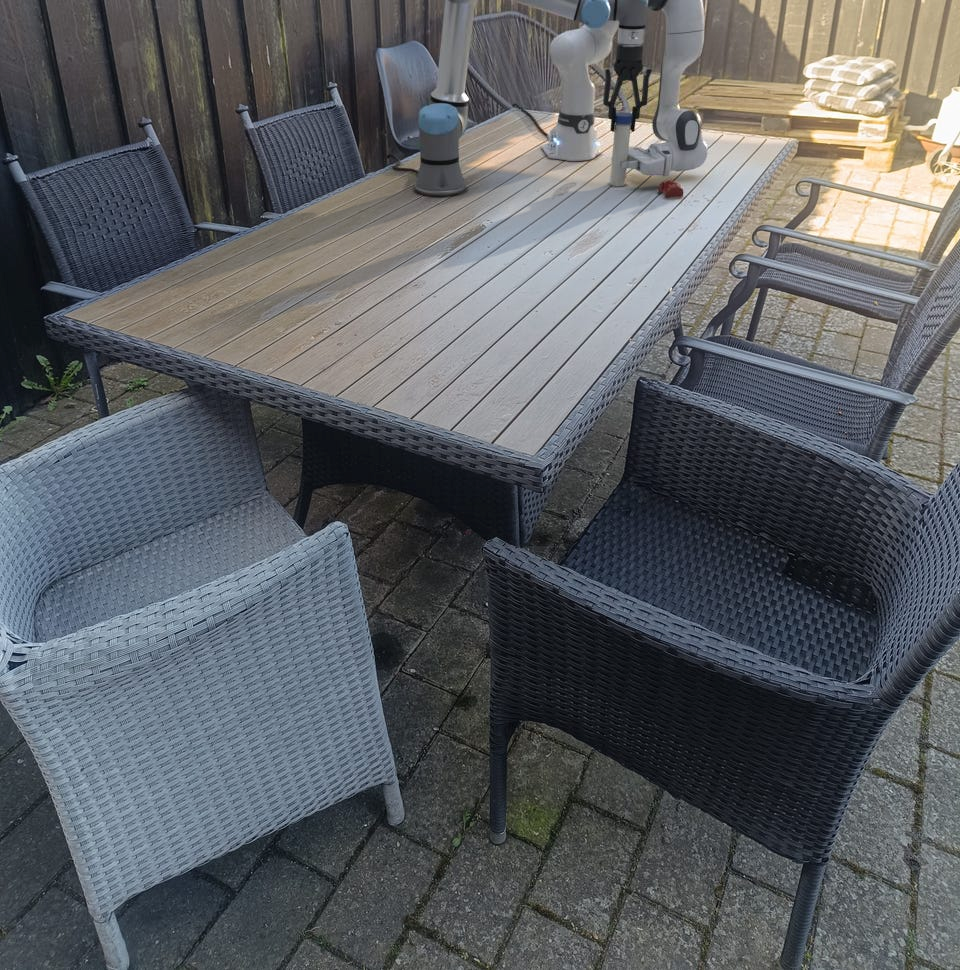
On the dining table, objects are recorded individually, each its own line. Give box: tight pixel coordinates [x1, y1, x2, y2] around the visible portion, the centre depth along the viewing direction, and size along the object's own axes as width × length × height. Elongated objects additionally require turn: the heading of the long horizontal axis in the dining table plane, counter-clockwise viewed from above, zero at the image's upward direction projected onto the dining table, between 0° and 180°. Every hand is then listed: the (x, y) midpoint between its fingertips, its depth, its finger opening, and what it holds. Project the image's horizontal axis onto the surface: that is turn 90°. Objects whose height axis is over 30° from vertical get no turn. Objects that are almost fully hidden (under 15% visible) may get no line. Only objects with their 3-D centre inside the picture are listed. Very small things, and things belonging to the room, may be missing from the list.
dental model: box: [657, 179, 684, 199], centre depth 253 cm, size 6×4×8 cm
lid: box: [615, 111, 633, 124], centre depth 252 cm, size 6×6×2 cm
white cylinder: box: [609, 123, 631, 187], centre depth 257 cm, size 5×5×20 cm
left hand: (622, 130), depth 254 cm, fingers closed on lid, 5 cm apart
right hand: (616, 162), depth 259 cm, fingers closed on white cylinder, 5 cm apart
